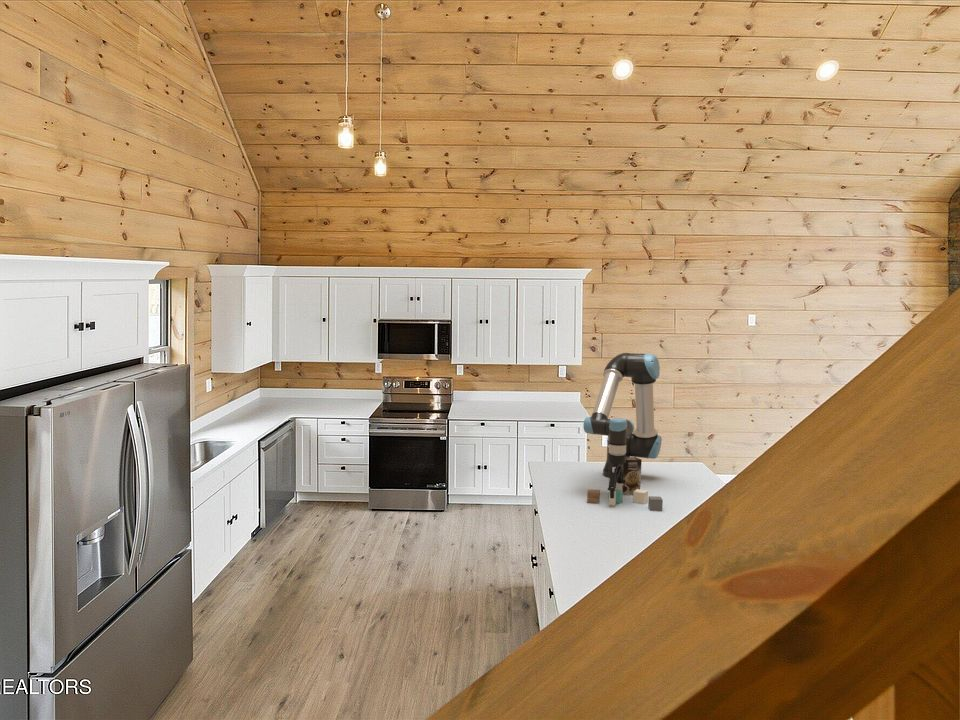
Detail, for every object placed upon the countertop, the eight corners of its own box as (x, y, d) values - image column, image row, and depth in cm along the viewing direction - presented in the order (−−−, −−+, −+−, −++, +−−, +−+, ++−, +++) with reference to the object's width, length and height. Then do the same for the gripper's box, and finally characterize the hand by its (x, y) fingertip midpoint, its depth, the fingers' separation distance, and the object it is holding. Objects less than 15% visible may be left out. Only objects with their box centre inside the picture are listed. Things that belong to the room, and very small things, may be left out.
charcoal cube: (648, 507, 333) (648, 496, 332) (659, 507, 333) (660, 496, 332) (650, 510, 328) (650, 499, 327) (662, 511, 328) (662, 499, 327)
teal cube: (611, 500, 344) (611, 489, 344) (622, 501, 342) (622, 490, 342) (608, 502, 339) (609, 491, 339) (619, 504, 337) (620, 493, 337)
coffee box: (622, 494, 353) (624, 460, 352) (616, 491, 359) (617, 457, 358) (640, 493, 356) (642, 459, 354) (634, 490, 362) (635, 456, 360)
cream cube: (636, 500, 345) (637, 489, 345) (647, 501, 342) (648, 490, 342) (633, 502, 341) (633, 491, 340) (644, 504, 338) (644, 493, 338)
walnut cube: (588, 500, 343) (588, 489, 343) (599, 500, 342) (599, 489, 342) (587, 503, 339) (587, 491, 338) (598, 503, 337) (599, 492, 337)
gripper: (614, 448, 352) (613, 494, 353) (602, 458, 329) (600, 507, 331) (631, 449, 349) (629, 496, 351) (619, 459, 326) (617, 509, 328)
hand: (615, 501), depth 341 cm, fingers open, 13 cm apart
